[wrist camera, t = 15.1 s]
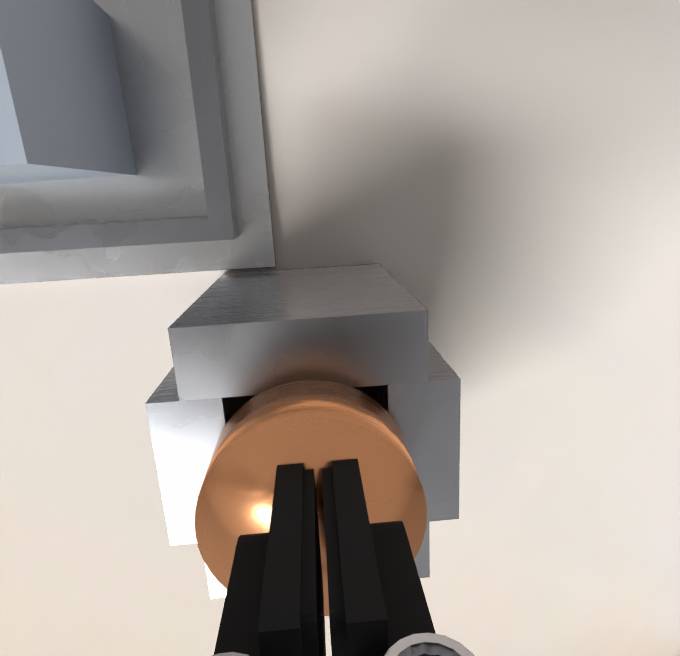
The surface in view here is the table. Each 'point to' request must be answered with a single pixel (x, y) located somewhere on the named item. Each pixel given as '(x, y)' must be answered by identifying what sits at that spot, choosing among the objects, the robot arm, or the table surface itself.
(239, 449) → the plunger
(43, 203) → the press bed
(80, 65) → the light blue block
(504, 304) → the table surface
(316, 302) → the copper disc holder
